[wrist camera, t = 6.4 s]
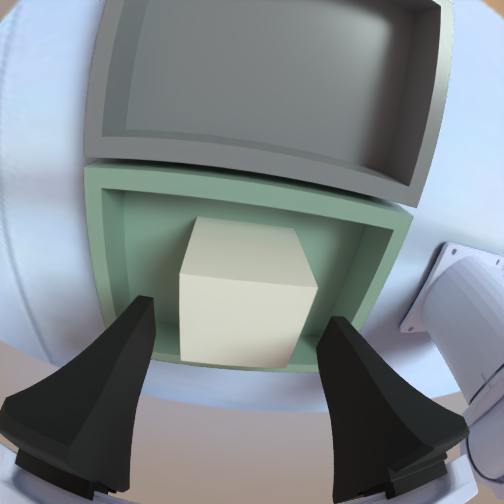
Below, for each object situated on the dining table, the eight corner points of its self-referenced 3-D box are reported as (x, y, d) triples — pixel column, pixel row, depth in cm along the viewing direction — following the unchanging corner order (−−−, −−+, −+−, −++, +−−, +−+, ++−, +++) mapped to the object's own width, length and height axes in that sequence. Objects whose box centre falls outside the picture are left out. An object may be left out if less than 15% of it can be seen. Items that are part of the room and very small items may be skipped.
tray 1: (417, 13, 8) (453, 3, 5) (383, 185, 13) (416, 208, 10) (155, -44, 6) (136, -72, 3) (116, 143, 11) (83, 157, 8)
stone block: (294, 228, 13) (318, 287, 9) (274, 302, 15) (285, 368, 11) (197, 216, 12) (179, 273, 9) (192, 293, 15) (180, 360, 11)
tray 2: (381, 192, 13) (413, 216, 10) (323, 335, 18) (334, 371, 16) (115, 151, 11) (83, 167, 9) (126, 315, 17) (112, 351, 14)
